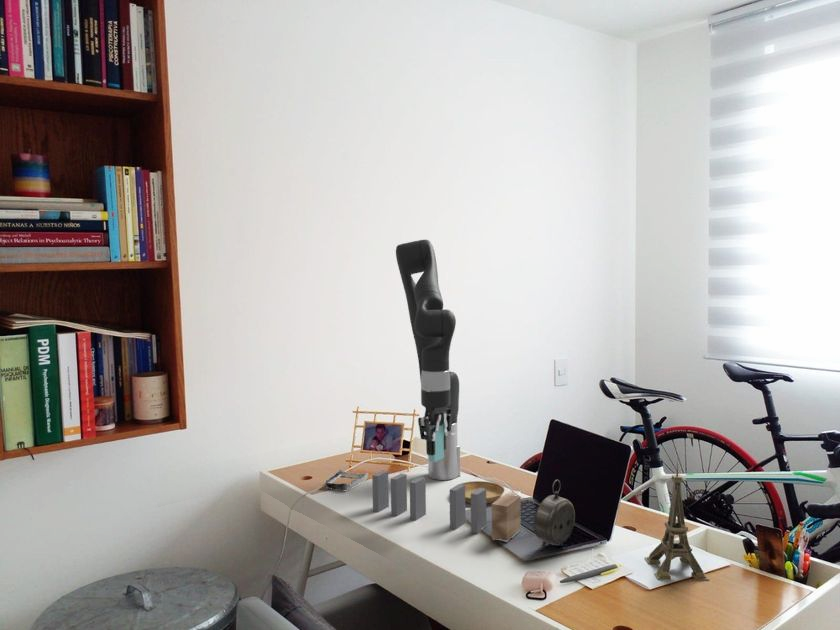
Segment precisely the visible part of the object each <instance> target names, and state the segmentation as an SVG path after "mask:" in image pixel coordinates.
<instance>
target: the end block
mask: <svg viewBox="0 0 840 630" xmlns="http://www.w3.org/2000/svg"><path fill="white" fill-rule="evenodd" d="M521 499H522V498H521V496H520V495H513V494H509V493H506V494H503V495H502V496H501V497H500V498H499V499H497V500H496V501H494V502H492V503H491V540H492V541H495V539H502V540H509V539H510V538H511V537H512V536H513V535H514V534H515V533H516V532H517V531H518V530H519V529H520V528H521V524H522V523H521V522H522V521H521V511H522V510H521V509H522V508H521V505H522V504H521ZM521 529H522V528H521Z"/></svg>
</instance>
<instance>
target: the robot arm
mask: <svg viewBox="0 0 840 630" xmlns="http://www.w3.org/2000/svg"><path fill="white" fill-rule="evenodd" d="M395 257H396V262H397V263H396V264H397V266H398V270H399V274H400V275H399V276H400V278H401V281H402V286H403V289H404V293H405V294H404V295H405V298H406V303H407V308H408V315H409V319H410V320H409V321H410V326H411V329H412V330H411V331H412V335H413V339H414V343H415V349H416V355H417V360H418V368H419V379H420V401H421V406H422V407H424V409H425V411H424V416H423V417H418V418H417V420H418V421H417V423H418V429H419V435H420V439H421V440H423V441H425V442H426V444H425V445H426V455H428V456H427V459H428V460H427V462H428V469H427V470H428V471H427V472H428V477H429V478H430V479H433V480H438V481H447V480H452V479H453V480H454V479H455V478H458V477H460V476H461V446H460V444H458V414H459V410H460V409H459V404H460V400H459V399H460V379H459V377H458V374H457V373H456V372H454V371H450V349H451V345H452V344H451V343H452V340H453V337H454V333H455V331H456V330H455V329H456V325H457V324H456V323H457V321H456V320H457V319H456V316H455V314H454V313H453V311H452V310H450V309H444V301H443V297H442V293H441V289H440V285H439V276H438V275H439V274H438V265H437V258H436V253H435V249H434V246H433V244H432V242H431V241H430V240H429V239H420V240H412V241H409V242H405V243H401V244H398V245H396V248H395ZM419 273H422V274H421V276H420V277H419V278H418V280H417V282H415V280H414V279H413V276H412V275H415V274H419ZM442 424H443V430H444V458H442V459H440V460H438V461H436V462H431V461H429V455H432V456H433V455H435V436H436V432H438V428H439V426H442ZM430 425H431V426H433V425H435V427H434V428H430ZM431 431H432V436H431Z"/></svg>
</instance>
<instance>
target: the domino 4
mask: <svg viewBox="0 0 840 630" xmlns="http://www.w3.org/2000/svg"><path fill="white" fill-rule="evenodd" d="M434 427H435V425H433V426H431V425H430V428H434ZM431 436H432V431H431ZM442 458H444V430H443V424H442V426H439V428H438V432H436V436H435V455H433V456H432V455H429V461H431V462H436V461H438V460H440V459H442Z"/></svg>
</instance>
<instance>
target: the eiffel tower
mask: <svg viewBox="0 0 840 630" xmlns="http://www.w3.org/2000/svg"><path fill="white" fill-rule="evenodd" d="M678 459H679V457H678V456H677V458H676V460H677V462H676V473H675V474H671V477H670V480H671V481H672V482H673V485H672V493H671V500H670V506H669V512H668V513H669V514H668V518H667V520H665V522H664V526H665V528H666V529H665V531H664V535H663V537H662V539H661V538H660V542H661V543H659V544H658V545H657V546H656V547H655V548H654V549H653V550H652V551H651V552H650V553H649V555H648V556H647V557H646V556H644V560H645V561H646V563H647V564H649V565H652V564H653V565H657V564H658V565H659V564H660V565H659V567H658V569H657V571H656V572H654V576H655V578H656V579H657V580H658V581H672V577H671V575H670V572H671V571H670V570H671V565H672V561H673V560H674V559H676V558H679V559H680V561H681V563H682V564H684V565H689V567H690V569H691V570H692V571H691V576H692V578H693V579H694V580H695V581H710V579H709V577H708V576H707V575H706V574H705V573H704V571H703V569H702V568H701V567H702V566H700V564H699V561H697V559H696V557H695V556H694V554H693V553H692V551H693V548H692V547H691V546H690V543H689V540H688V534H687V532H688V531H689V527H688V526H687V525H686V524H685V514H684V513H685V512H684V506H683V496H682V495H683V494H682V484H681V483H684V482H685V481H684V479H683V478H684V477H683V476H682V475H681V474H679V464H678ZM675 536H678V539H675ZM663 556H665V558H664V560H663V561H661V559H662V557H663ZM661 562H662V563H661Z"/></svg>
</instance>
